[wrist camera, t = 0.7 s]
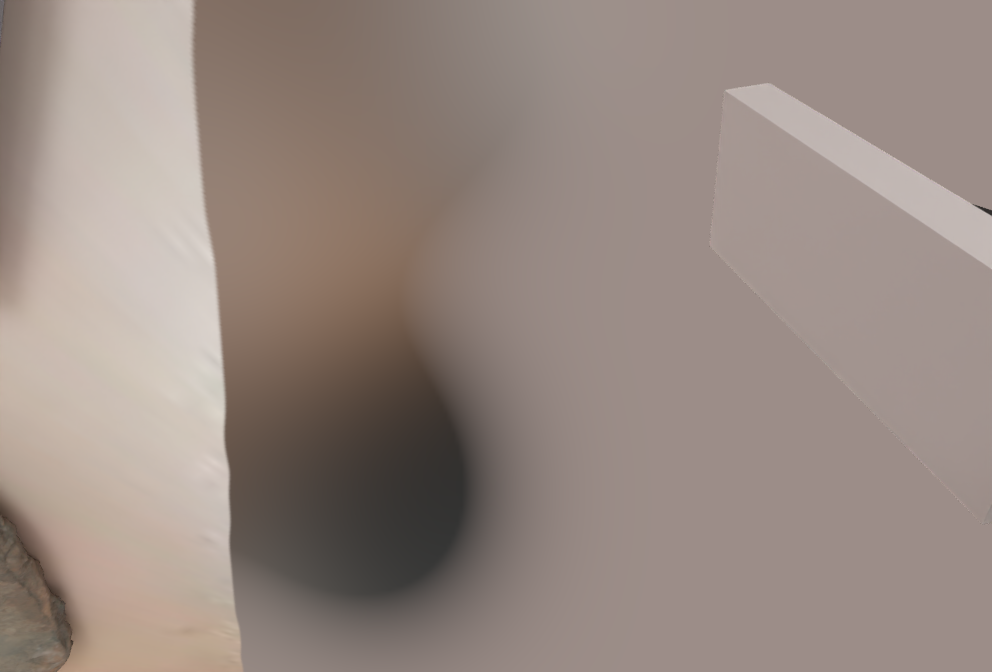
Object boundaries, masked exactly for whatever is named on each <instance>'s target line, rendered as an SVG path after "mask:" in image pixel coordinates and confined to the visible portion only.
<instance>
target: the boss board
mask: <svg viewBox="0 0 992 672" xmlns="http://www.w3.org/2000/svg"><path fill="white" fill-rule="evenodd" d="M3 11H4V0H0V44H1V33H2V22H3Z"/></svg>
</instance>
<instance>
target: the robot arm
mask: <svg viewBox="0 0 992 672" xmlns="http://www.w3.org/2000/svg"><path fill="white" fill-rule="evenodd" d="M709 246H710V247H711V249H713V251H714V252H715V253H717V255H718V256H719V257H720V258H721V259H722V260H723V261H724V262H725V263H726V264H727V265H728V266H729V267H730V268H731V269H732V270H733V271H734V272H735V273H736V274H737V275H738V276H739V277H740V278H741V279H742V280H743V281H744V282H745V283H746V284H747V285H748V286H749V287H750V288H751V289H752V290H753V291H754V292H755V293H756V294H757V295H758V296H759V297H760V298H761V299H762V300H763V301H764V302H765V304H766V305H768V307H769V308H770V309H772V311H773V312H775V314H776V315H777V316H779V318H780V319H781V320H782V321H783V322H784V323H785V324H786V325H787V326H788V327H789V328H790V329H791V330H792V331H793V332H794V333H795V334H796V335H797V336H798V337H799V338H800V339H801V340H802V341H803V342H804V343H805V344H806V345H807V346H808V347H809V348H810V349H811V350H812V351H813V352H814V353H815V354H816V355H817V356H818V357H819V358H820V360H821V361H822V362H823V363H824V364H826V366H827V367H828V368H829V369H830V370H831V371H832V372H833V373H834V374H835V375H836V376H837V377H838V378H839V379H840V380H841V381H842V382H843V383H844V384H845V385H846V386H847V387H848V388H849V389H850V390H851V391H852V392H853V393H854V394H855V395H856V396H857V397H858V398H859V399H860V400H861V401H862V402H863V403H864V404H865V405H866V406H867V407H868V408H869V409H870V410H871V411H872V412H873V413H874V414H875V416H876V417H877V418H879V420H880V421H881V422H882V423H883V424H884V425H885V426H886V427H887V428H888V429H889V430H890V431H891V432H892V433H893V434H894V435H895V436H896V437H897V438H898V439H899V440H900V441H901V442H902V443H903V444H904V445H905V446H906V447H907V448H908V449H909V450H910V451H911V452H912V453H913V454H914V455H915V456H916V457H917V458H918V459H919V460H920V461H921V462H922V463H923V464H924V465H925V466H926V467H927V469H929V471H930V472H931V473H932V474H933V475H934V476H935V477H936V478H937V479H938V480H939V481H940V482H941V483H942V484H943V485H944V486H945V487H946V488H947V489H948V490H949V491H950V492H951V493H952V494H953V495H954V496H955V497H956V498H957V499H958V500H959V501H960V502H961V503H962V504H963V505H964V506H965V507H966V508H967V509H968V510H969V511H970V512H971V513H972V514H973V515H974V516H975V517H976V518H977V519H978V520H979V521H980V522H981V523H982V525H985V524H988V523H992V210H989V209H986V208H983V207H980V206H977V205H974V204H971V203H969V202H967V201H966V200H964V199H962V198H961V197H959V196H957V195H956V194H954V193H952V192H951V191H949V190H947V189H946V188H944V187H942V186H940V185H939V184H937V183H936V182H934V181H932V180H931V179H928V178H927V177H925V176H924V175H922V174H921V173H919V172H917V171H915V170H914V169H912V168H910V167H909V166H907V165H906V164H904V163H902V162H900V161H898V160H897V159H895V158H894V157H892V156H891V155H889V154H887V153H885V152H884V151H882V150H880V149H879V148H877V147H875V146H874V145H872V144H870V143H869V142H867V141H865V140H864V139H862V138H860V137H859V136H857V135H855V134H854V133H852V132H850V131H849V130H847V129H845V128H844V127H842V126H840V125H839V124H837V123H835V122H834V121H832V120H830V119H829V118H827V117H825V116H824V115H822V114H820V113H819V112H817V111H815V110H814V109H812V108H810V107H809V106H807V105H805V104H803V103H802V102H800V101H798V100H797V99H795V98H794V97H792V96H790V95H789V94H787V93H785V92H784V91H782V90H780V89H778V88H777V87H775V86H774V85H772V84H770V83H766V84H759V85H754V86H748V87H741V88H734V89H728V90H724V99H723V109H722V119H721V129H720V140H719V150H718V160H717V172H716V181H715V192H714V202H713V213H712V224H711V235H710V245H709Z"/></svg>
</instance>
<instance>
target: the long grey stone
mask: <svg viewBox="0 0 992 672" xmlns="http://www.w3.org/2000/svg"><path fill="white" fill-rule="evenodd" d="M43 577H44V574H43V569H42V568H41V565H40V562H39V561H38V560H34V559H33V558H32V557H31V556H29V555H28V554H27V553H26V550H25V549H24V547H23V544H22V542H20V540H19V537H17V530H16V526H15V525H14V524H12V523H10V522H9V521H8V519H7V518H5V517H1V515H0V672H57V671H58V670H59V669H60V668H61V667H62V666H63V665H64V664H65V662H66V661H67V659H68V658H69V655H70V650H71V647H72V645H73V641H72V640H71V635H72V629H71V627H70V624H69V623H68V622H67V621H66V620H65V617H66V614H65V612H64V610H65V603H64V602H63V601H61V598H60V597H59V596H56V595H53V593H52V592H50V590H49V588H48V586H47V585H46V581H45V580H44V578H43Z"/></svg>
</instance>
